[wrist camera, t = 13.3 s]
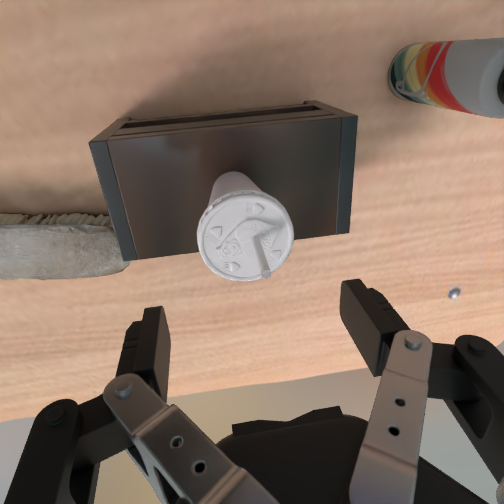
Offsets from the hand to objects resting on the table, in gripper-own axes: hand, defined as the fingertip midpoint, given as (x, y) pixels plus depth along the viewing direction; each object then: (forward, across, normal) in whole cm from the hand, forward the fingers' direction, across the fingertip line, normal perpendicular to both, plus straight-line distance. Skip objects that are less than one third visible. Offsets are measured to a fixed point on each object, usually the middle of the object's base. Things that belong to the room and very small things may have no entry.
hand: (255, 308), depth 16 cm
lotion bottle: (+29, -23, -7) cm, 38 cm away
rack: (+29, -1, +1) cm, 29 cm away
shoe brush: (+30, +23, +8) cm, 39 cm away
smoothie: (+18, -1, +1) cm, 18 cm away
